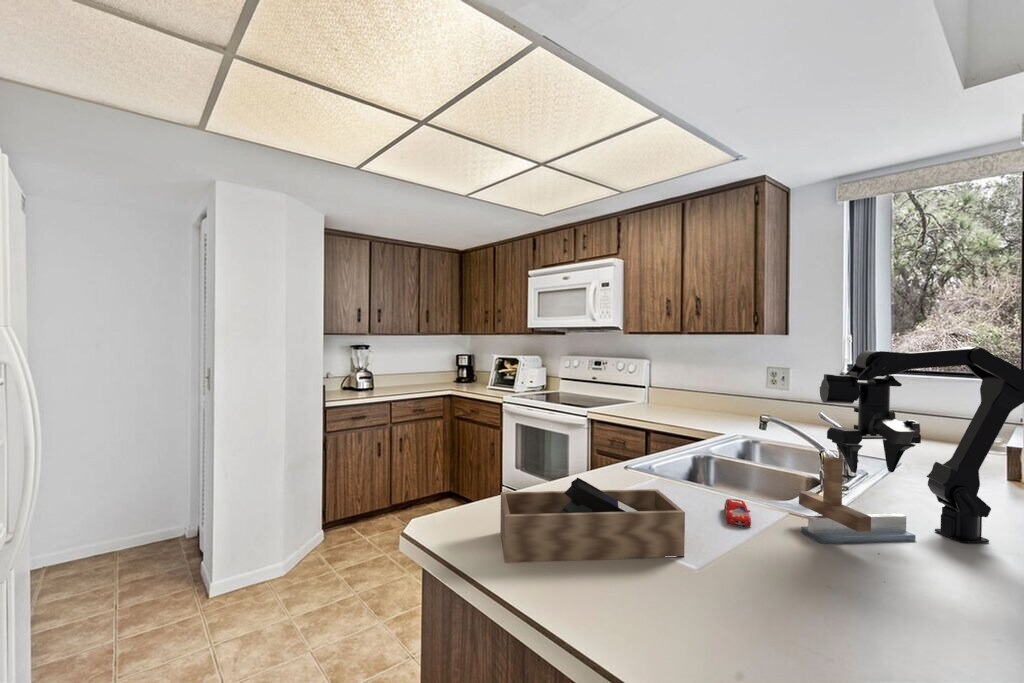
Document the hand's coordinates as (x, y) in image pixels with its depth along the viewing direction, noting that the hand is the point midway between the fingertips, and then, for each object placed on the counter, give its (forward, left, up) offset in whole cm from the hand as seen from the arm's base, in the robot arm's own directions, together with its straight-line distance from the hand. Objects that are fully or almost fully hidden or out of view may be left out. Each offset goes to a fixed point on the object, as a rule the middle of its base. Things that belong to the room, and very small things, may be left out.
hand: (872, 472), depth 110 cm
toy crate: (+68, +4, -13) cm, 69 cm away
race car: (+28, -8, -14) cm, 32 cm away
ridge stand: (+7, +4, -13) cm, 15 cm away
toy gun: (+64, +2, -13) cm, 66 cm away
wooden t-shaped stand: (+13, +4, -8) cm, 16 cm away
